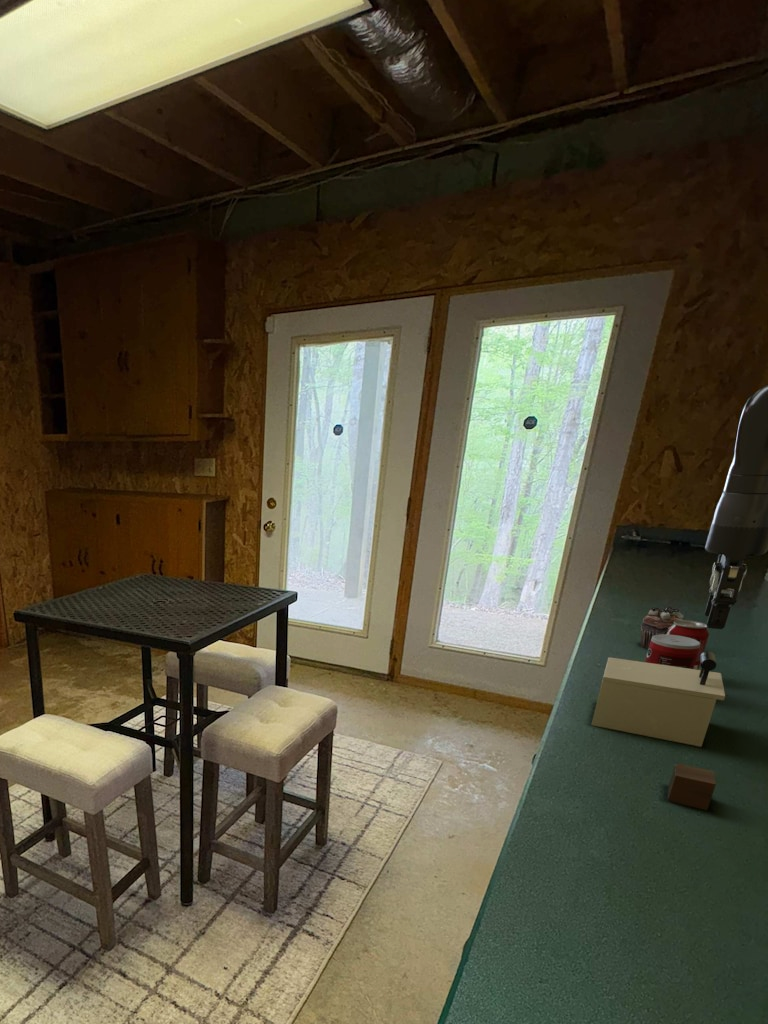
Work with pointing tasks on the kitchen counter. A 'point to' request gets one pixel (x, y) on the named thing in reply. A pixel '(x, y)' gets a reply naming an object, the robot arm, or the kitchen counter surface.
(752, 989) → the kitchen counter surface
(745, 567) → the robot arm
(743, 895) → the kitchen counter surface
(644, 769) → the kitchen counter surface
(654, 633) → the cupcake
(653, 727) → the bin
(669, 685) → the bin lid
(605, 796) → the kitchen counter surface
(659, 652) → the canned food
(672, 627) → the soda can
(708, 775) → the block
